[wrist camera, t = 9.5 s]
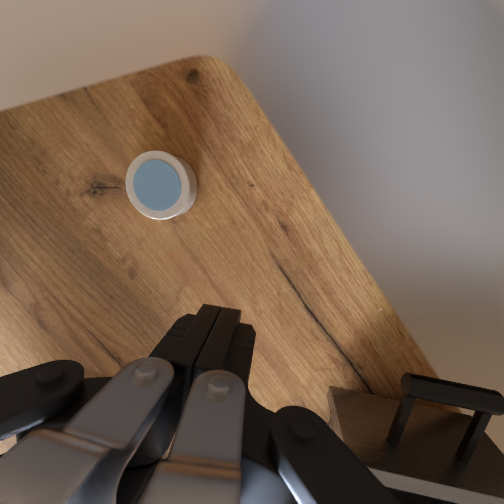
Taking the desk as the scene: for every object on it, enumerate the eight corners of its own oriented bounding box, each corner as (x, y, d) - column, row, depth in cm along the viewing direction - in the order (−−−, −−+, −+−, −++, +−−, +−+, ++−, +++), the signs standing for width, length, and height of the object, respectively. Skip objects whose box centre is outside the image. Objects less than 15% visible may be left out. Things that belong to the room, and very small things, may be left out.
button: (153, 141, 21) (140, 136, 19) (208, 174, 21) (201, 173, 19) (129, 197, 23) (114, 197, 21) (181, 228, 23) (171, 232, 21)
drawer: (345, 329, 22) (373, 391, 16) (497, 359, 22) (596, 439, 15) (298, 495, 27) (304, 597, 21) (420, 525, 27) (468, 641, 20)
